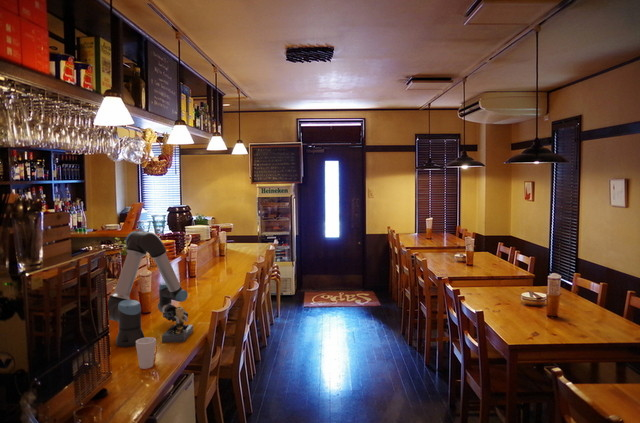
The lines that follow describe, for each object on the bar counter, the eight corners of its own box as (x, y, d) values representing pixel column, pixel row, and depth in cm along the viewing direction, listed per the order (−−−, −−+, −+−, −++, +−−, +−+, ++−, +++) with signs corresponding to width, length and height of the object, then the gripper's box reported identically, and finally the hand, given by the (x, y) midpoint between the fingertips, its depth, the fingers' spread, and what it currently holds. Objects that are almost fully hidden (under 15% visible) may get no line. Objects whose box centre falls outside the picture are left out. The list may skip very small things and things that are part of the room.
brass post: (172, 332, 265) (172, 308, 264) (182, 330, 269) (181, 306, 268) (177, 335, 260) (177, 310, 259) (187, 332, 265) (187, 308, 264)
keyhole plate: (172, 330, 272) (172, 324, 271) (193, 330, 272) (193, 324, 272) (162, 342, 252) (161, 335, 252) (183, 342, 252) (183, 335, 252)
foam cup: (156, 368, 217) (156, 342, 216) (136, 371, 213) (135, 344, 213) (156, 361, 226) (155, 336, 225) (136, 363, 222) (135, 338, 221)
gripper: (184, 314, 284) (197, 323, 265) (156, 319, 274) (168, 329, 255) (183, 302, 283) (197, 311, 265) (156, 307, 273) (167, 316, 254)
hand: (182, 320), depth 260 cm, fingers closed on brass post, 4 cm apart
